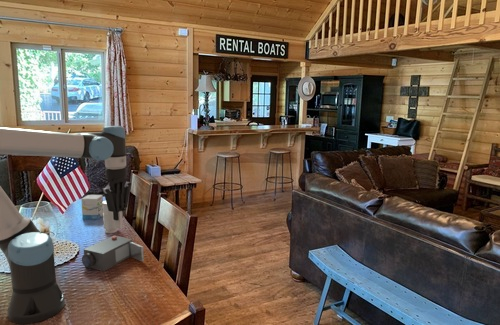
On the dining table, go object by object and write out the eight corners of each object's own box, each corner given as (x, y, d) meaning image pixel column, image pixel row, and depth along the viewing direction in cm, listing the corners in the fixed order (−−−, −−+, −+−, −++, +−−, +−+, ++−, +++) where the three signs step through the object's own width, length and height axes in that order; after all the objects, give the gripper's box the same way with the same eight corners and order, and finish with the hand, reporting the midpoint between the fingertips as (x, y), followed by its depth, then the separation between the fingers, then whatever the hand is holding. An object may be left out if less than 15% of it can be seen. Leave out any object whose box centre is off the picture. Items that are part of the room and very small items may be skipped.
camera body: (99, 273, 137) (98, 254, 136) (80, 268, 141) (78, 249, 140) (133, 255, 154) (132, 237, 152) (115, 250, 158) (114, 233, 157)
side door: (144, 260, 147) (143, 246, 146) (141, 261, 146) (140, 247, 145) (131, 255, 153) (130, 241, 151) (129, 256, 152) (128, 242, 151)
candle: (120, 231, 180) (118, 202, 178) (105, 234, 176) (103, 204, 174) (116, 227, 186) (115, 199, 183) (102, 230, 182) (100, 201, 179)
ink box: (97, 219, 197) (96, 198, 195) (82, 219, 198) (80, 198, 195) (104, 214, 206) (103, 194, 204) (89, 214, 206) (87, 194, 204)
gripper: (110, 171, 129) (113, 234, 133) (135, 165, 141) (138, 223, 145) (94, 169, 132) (98, 231, 136) (121, 163, 144) (123, 220, 148)
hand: (118, 227), depth 141 cm, fingers closed
